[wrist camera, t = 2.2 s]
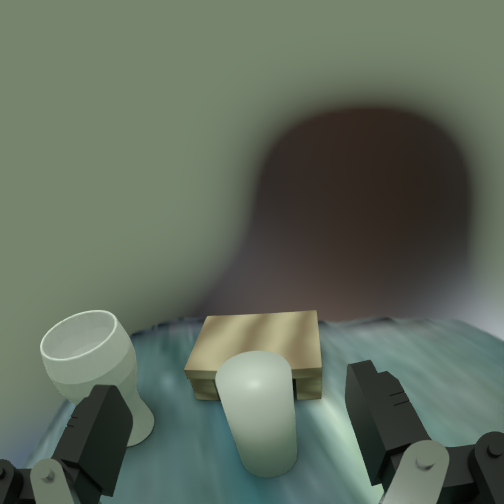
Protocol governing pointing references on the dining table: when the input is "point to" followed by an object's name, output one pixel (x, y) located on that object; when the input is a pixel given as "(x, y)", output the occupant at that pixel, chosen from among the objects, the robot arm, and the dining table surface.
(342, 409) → the dining table surface
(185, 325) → the dining table surface
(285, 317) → the shelf stand
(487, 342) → the dining table surface
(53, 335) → the cup
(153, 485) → the dining table surface
